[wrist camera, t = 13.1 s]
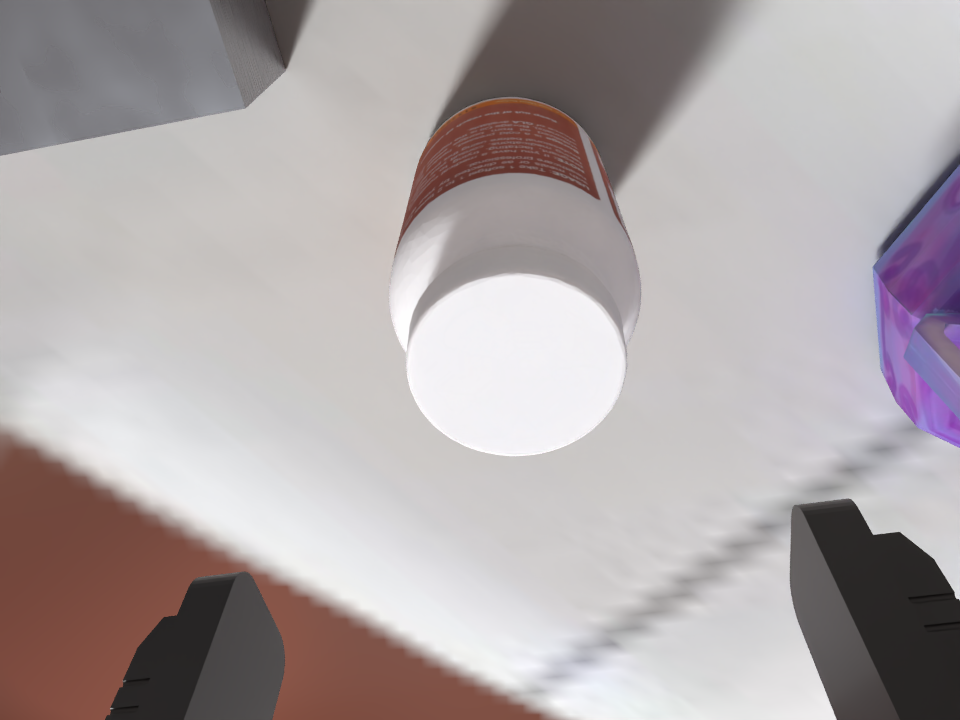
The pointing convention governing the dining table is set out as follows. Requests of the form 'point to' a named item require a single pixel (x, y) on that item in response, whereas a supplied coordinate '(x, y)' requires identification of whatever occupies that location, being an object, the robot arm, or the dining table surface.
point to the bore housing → (127, 65)
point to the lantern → (924, 314)
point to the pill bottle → (514, 280)
